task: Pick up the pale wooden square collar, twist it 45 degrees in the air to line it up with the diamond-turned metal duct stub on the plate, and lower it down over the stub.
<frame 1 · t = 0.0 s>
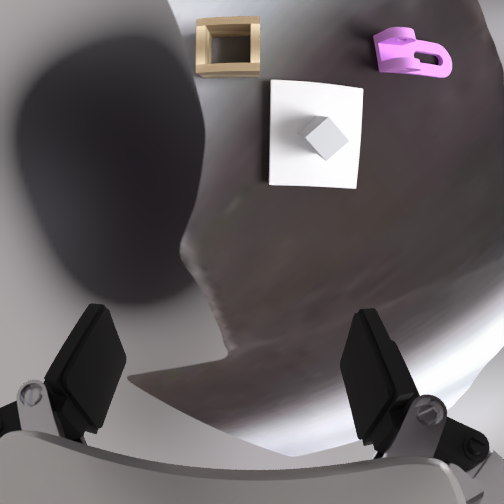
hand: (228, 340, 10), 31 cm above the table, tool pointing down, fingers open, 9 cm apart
wooden collar: (231, 53, 31), on the table
bracket: (413, 57, 29), on the table
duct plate: (314, 133, 36), on the table
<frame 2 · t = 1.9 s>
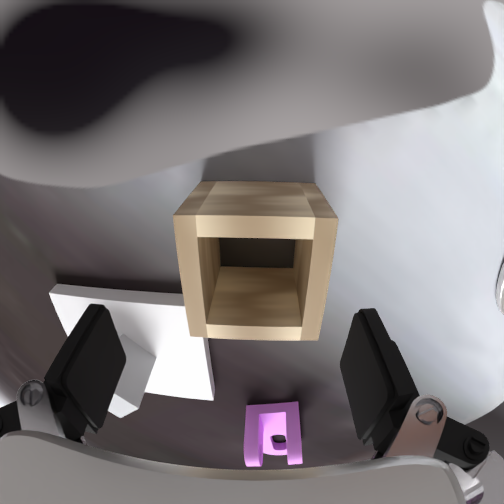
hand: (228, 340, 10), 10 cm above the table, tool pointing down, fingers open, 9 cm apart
wooden collar: (257, 234, 19), on the table
bracket: (277, 426, 31), on the table
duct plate: (135, 342, 24), on the table
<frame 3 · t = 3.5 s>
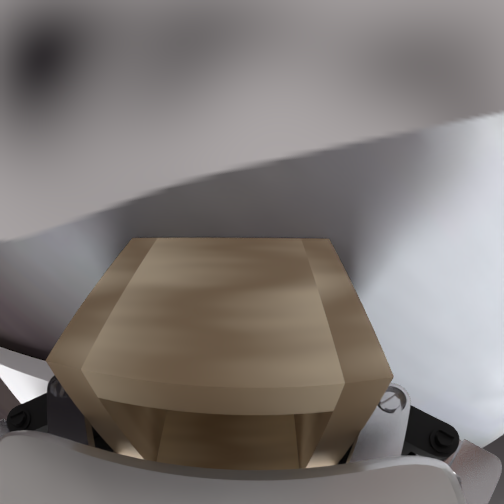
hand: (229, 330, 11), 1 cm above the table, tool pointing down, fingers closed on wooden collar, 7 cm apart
wooden collar: (231, 316, 12), on the table, touching gripper
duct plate: (93, 415, 17), on the table
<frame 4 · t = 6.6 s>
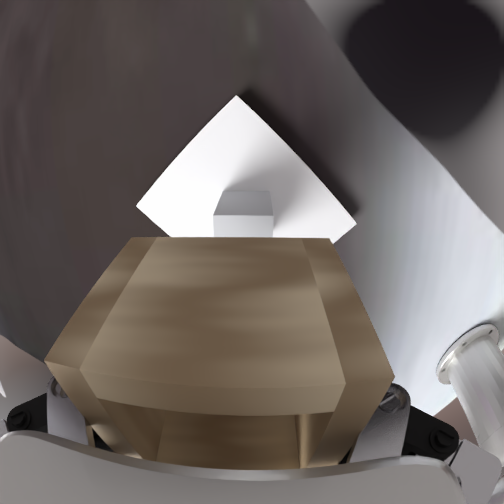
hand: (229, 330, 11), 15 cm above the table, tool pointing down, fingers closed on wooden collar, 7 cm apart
wooden collar: (230, 316, 11), point 14 cm above the table, touching gripper
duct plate: (246, 206, 24), on the table
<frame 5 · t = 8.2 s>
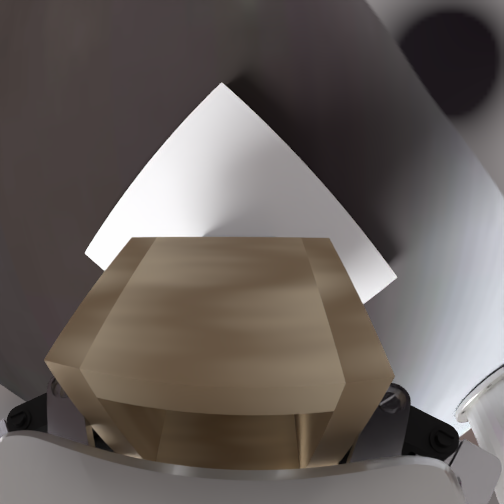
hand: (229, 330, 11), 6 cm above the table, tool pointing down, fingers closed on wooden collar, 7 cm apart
wooden collar: (230, 316, 11), point 6 cm above the table, touching gripper
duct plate: (240, 253, 17), on the table
when the fingers open (4 cm above the table, at t = 9.8 s): wooden collar drops 1 cm, resting on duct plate.
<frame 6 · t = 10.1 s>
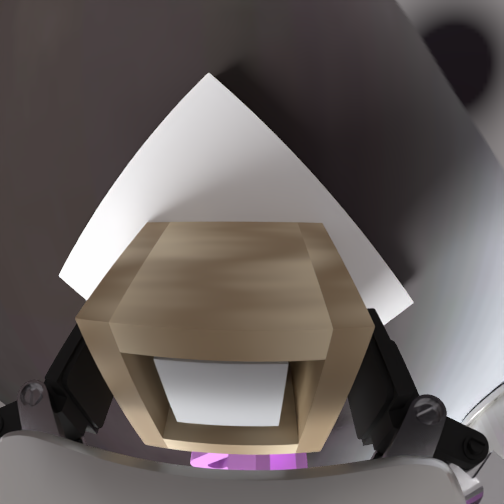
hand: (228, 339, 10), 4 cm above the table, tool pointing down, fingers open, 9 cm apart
wooden collar: (234, 295, 13), point 1 cm above the table, touching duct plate
bracket: (237, 445, 24), on the table
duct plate: (234, 277, 14), on the table
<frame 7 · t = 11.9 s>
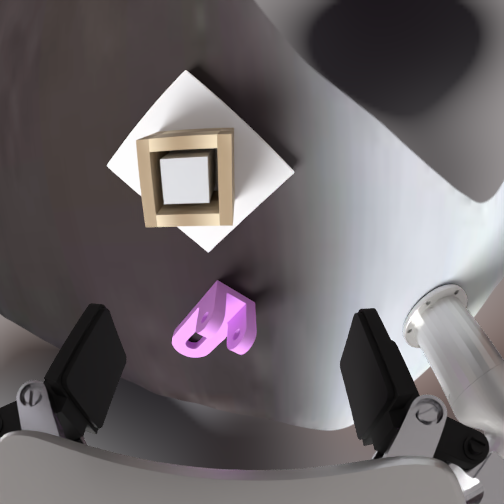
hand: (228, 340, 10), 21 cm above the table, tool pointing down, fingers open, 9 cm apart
wooden collar: (196, 165, 26), point 1 cm above the table, touching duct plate
bracket: (207, 321, 37), on the table
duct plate: (198, 162, 27), on the table
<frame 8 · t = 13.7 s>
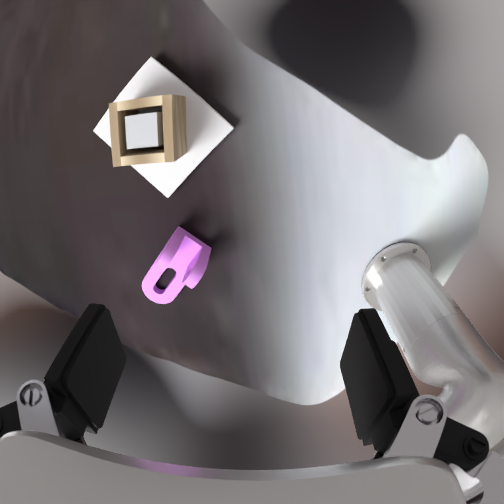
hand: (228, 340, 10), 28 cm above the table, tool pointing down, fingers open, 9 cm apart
wooden collar: (158, 127, 31), point 1 cm above the table, touching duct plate
bracket: (172, 267, 42), on the table
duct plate: (161, 126, 32), on the table
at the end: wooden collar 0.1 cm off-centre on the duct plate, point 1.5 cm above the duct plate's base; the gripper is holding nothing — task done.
